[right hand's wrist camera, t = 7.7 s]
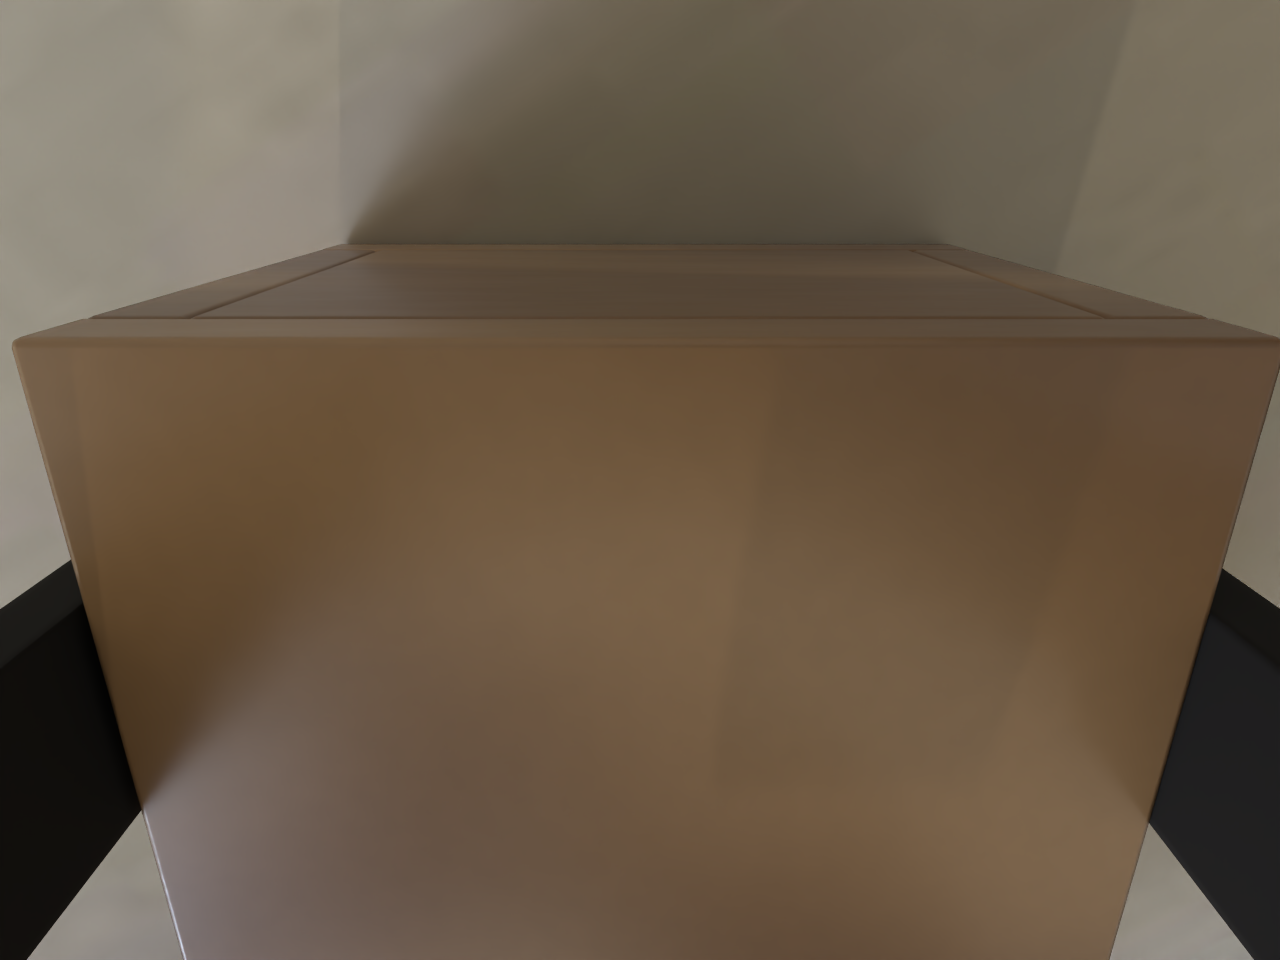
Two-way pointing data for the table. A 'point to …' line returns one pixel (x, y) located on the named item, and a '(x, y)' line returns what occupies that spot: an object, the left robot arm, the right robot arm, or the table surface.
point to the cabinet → (647, 594)
